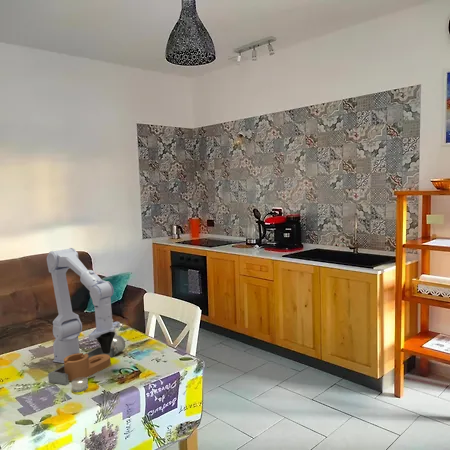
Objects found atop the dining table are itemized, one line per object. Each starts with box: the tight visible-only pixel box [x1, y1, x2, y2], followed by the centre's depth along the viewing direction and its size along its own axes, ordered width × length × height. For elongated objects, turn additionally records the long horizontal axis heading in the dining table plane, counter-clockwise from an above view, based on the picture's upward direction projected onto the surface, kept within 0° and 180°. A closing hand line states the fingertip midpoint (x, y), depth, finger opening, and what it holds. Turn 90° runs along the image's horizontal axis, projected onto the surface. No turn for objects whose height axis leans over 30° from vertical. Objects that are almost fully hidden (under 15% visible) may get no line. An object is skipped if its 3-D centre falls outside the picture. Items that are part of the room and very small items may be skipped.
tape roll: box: [71, 377, 89, 393], centre depth 136 cm, size 5×5×3 cm
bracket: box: [63, 352, 112, 382], centre depth 150 cm, size 18×8×7 cm, turn 147°
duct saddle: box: [47, 335, 126, 386], centre depth 154 cm, size 10×30×7 cm, turn 156°
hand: (106, 352), depth 147 cm, fingers closed
